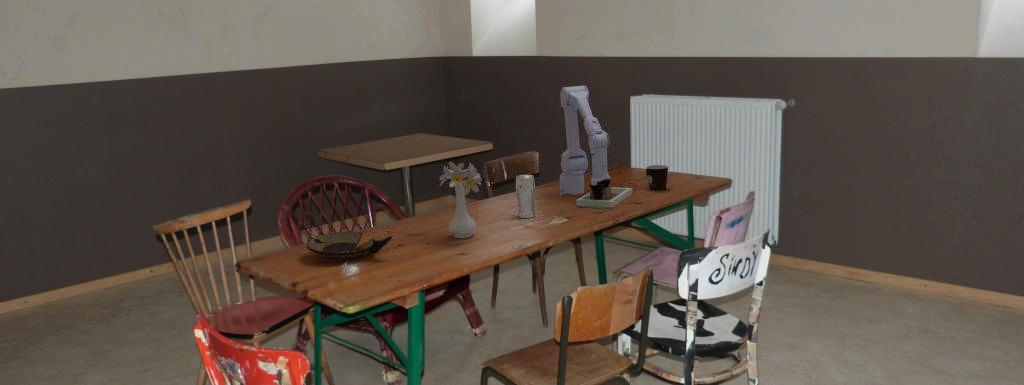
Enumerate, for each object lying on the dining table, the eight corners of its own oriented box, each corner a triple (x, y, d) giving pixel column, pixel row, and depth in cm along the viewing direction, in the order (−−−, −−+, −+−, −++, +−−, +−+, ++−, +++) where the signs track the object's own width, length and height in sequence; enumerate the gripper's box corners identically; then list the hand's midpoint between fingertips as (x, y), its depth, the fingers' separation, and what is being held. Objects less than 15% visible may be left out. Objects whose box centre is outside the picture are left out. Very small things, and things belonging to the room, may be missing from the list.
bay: (576, 207, 321) (576, 199, 320) (598, 194, 342) (598, 186, 342) (612, 209, 314) (612, 201, 314) (632, 195, 336) (632, 188, 335)
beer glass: (514, 218, 310) (512, 177, 306) (522, 213, 316) (520, 174, 312) (531, 219, 306) (529, 178, 303) (539, 214, 312) (537, 174, 309)
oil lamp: (351, 242, 288) (349, 220, 287) (405, 256, 267) (403, 233, 265) (293, 257, 273) (290, 234, 272) (345, 274, 252) (342, 249, 250)
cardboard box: (589, 203, 323) (589, 188, 322) (594, 200, 328) (593, 186, 326) (607, 203, 320) (607, 189, 319) (611, 201, 324) (611, 187, 323)
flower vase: (466, 244, 276) (461, 169, 271) (433, 235, 290) (428, 163, 285) (497, 236, 285) (493, 163, 279) (464, 228, 299) (459, 158, 293)
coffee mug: (670, 193, 337) (669, 168, 335) (648, 194, 337) (648, 169, 335) (665, 187, 349) (665, 163, 347) (644, 188, 349) (644, 164, 347)
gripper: (603, 168, 313) (604, 204, 316) (615, 161, 325) (616, 196, 328) (585, 168, 316) (586, 203, 319) (598, 161, 328) (599, 195, 331)
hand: (600, 200), depth 324 cm, fingers closed on cardboard box, 5 cm apart
